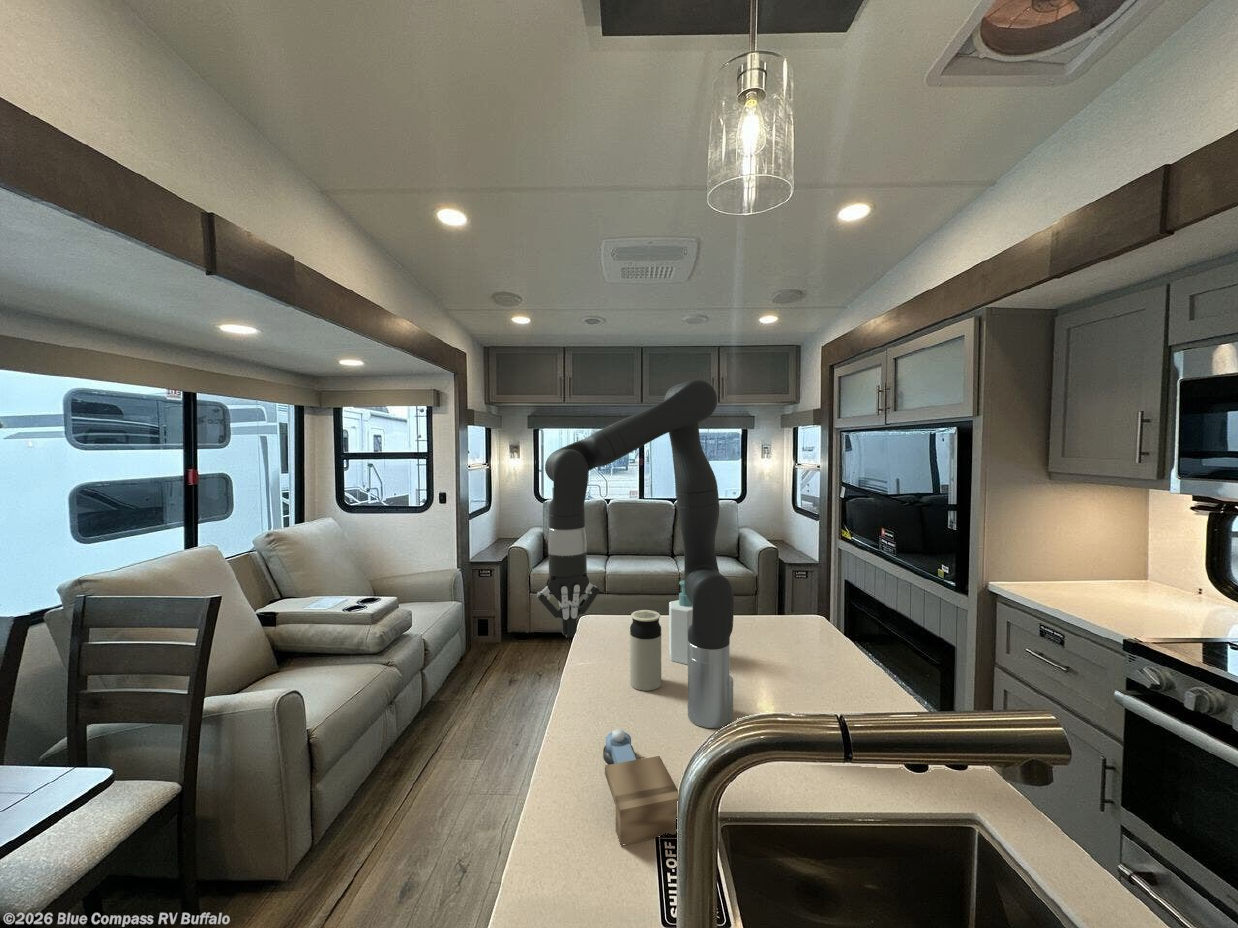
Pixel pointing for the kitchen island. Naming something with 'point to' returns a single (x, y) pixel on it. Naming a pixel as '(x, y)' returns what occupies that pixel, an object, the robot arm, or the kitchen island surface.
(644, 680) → the travel mug
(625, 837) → the brown square block
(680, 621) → the soap bottle
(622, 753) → the swing link
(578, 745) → the kitchen island surface
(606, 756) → the pivot boss
